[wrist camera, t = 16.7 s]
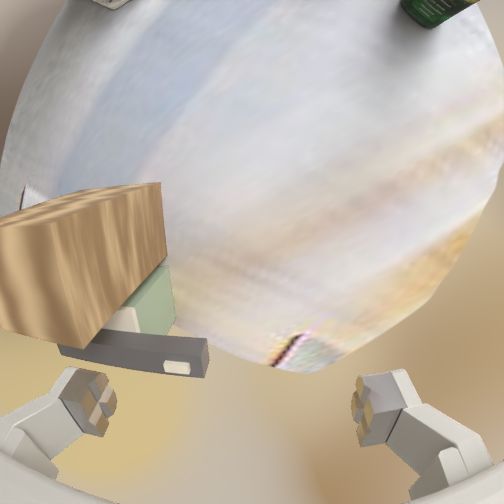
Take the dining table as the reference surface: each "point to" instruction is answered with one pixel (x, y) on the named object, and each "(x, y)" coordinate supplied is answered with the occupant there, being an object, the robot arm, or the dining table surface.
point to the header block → (147, 306)
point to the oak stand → (78, 260)
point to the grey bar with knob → (145, 352)
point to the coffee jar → (434, 10)
